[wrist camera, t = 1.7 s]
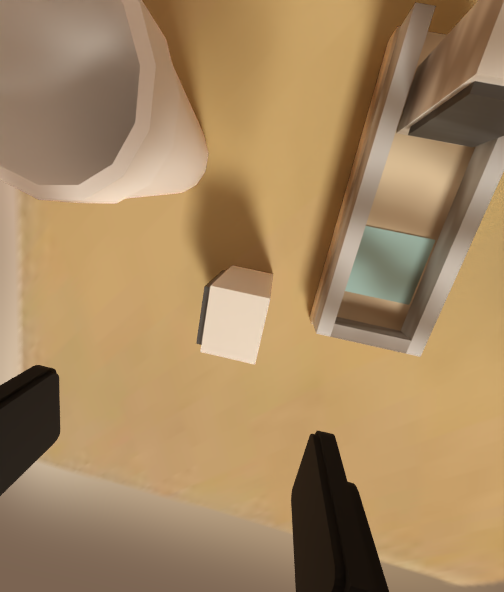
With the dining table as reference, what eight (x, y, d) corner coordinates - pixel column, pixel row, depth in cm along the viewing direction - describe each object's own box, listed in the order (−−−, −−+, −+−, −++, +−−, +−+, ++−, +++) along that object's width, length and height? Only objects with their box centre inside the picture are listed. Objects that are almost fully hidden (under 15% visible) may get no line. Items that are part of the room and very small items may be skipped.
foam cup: (244, 124, 21) (194, -14, 9) (201, 229, 24) (115, 238, 11) (139, 68, 21) (-73, -162, 8) (107, 180, 23) (-87, 136, 11)
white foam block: (218, 312, 26) (193, 350, 18) (227, 264, 24) (203, 283, 17) (262, 321, 26) (255, 364, 18) (273, 273, 24) (270, 298, 17)
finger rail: (388, 41, 19) (492, -131, 9) (517, 63, 18) (755, -94, 9) (309, 317, 25) (326, 373, 16) (403, 338, 25) (475, 407, 16)
